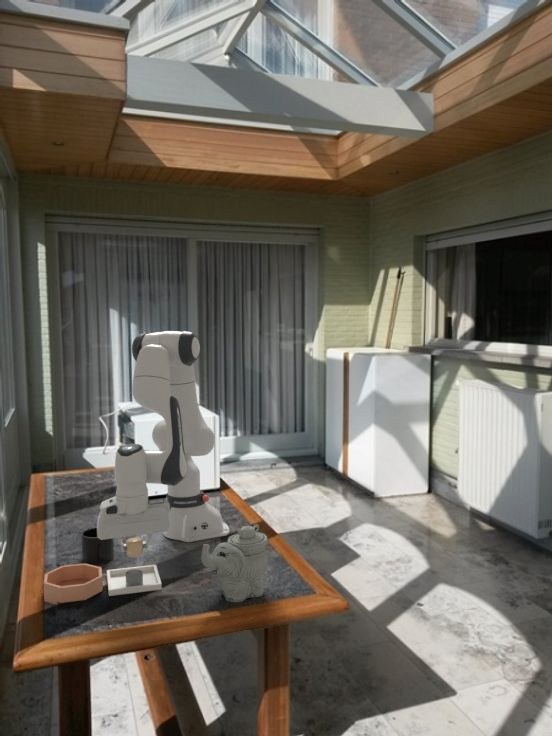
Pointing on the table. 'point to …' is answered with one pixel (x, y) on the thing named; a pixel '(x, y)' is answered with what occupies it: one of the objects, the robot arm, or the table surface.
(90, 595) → the bowl
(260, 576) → the teapot
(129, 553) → the sand pebble
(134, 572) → the slate pebble
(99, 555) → the mug
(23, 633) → the table surface
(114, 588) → the tray
